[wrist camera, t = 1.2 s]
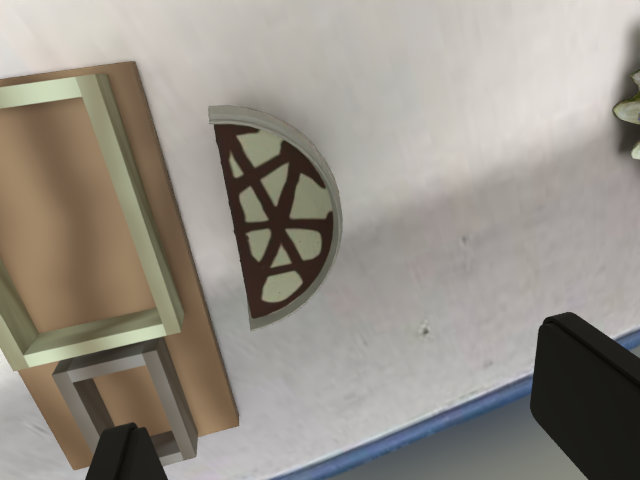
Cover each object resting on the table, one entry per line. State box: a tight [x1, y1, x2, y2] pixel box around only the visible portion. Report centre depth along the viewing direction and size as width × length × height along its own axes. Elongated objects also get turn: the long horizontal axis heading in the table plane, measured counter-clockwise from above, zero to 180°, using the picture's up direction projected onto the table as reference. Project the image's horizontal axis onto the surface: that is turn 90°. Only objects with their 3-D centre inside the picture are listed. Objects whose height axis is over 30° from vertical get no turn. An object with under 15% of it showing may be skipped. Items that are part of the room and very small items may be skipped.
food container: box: [209, 106, 342, 331], centre depth 25 cm, size 12×6×10 cm, turn 6°
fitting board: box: [0, 61, 239, 470], centre depth 28 cm, size 14×30×4 cm, turn 8°
